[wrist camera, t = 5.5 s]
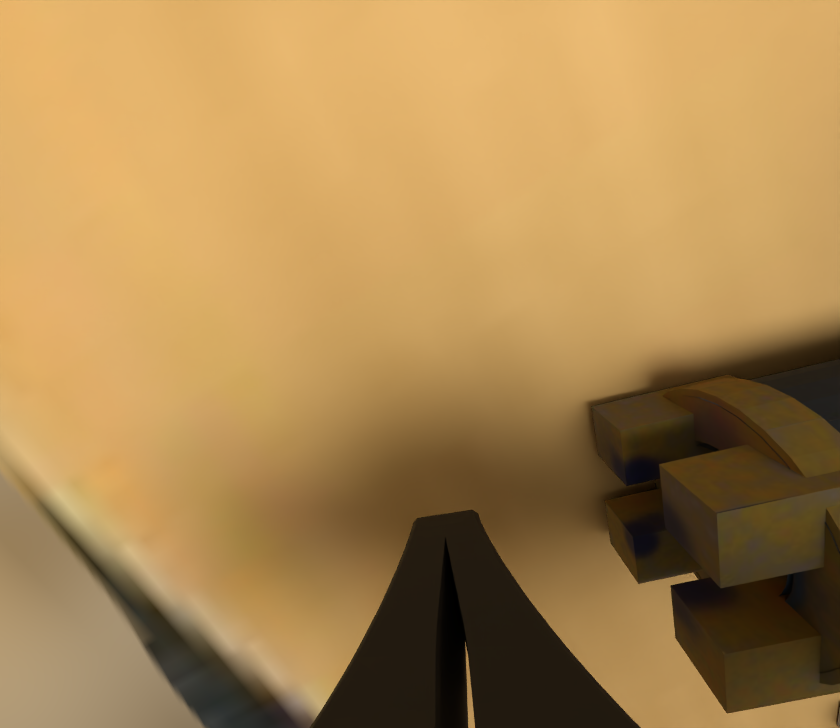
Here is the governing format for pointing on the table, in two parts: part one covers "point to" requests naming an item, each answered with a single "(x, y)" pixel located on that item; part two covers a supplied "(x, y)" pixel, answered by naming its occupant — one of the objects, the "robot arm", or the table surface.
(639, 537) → the pipe connector
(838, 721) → the bracket
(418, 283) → the table surface
